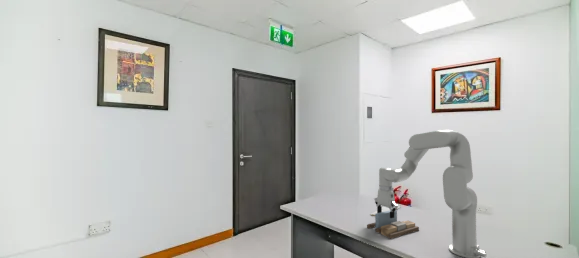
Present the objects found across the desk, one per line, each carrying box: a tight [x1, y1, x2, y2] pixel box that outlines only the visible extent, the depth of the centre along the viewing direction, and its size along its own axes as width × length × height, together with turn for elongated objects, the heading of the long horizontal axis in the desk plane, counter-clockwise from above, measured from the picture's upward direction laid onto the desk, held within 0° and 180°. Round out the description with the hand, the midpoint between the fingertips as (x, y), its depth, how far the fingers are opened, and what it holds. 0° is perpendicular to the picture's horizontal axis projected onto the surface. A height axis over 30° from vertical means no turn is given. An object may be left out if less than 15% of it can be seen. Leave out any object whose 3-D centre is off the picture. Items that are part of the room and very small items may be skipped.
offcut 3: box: [403, 220, 416, 229], centre depth 146 cm, size 5×7×4 cm
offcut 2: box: [391, 220, 406, 232], centre depth 142 cm, size 5×7×5 cm
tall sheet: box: [374, 210, 398, 229], centre depth 150 cm, size 2×16×9 cm, turn 117°
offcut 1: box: [380, 224, 397, 238], centre depth 139 cm, size 5×7×4 cm
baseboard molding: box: [369, 205, 402, 217], centre depth 180 cm, size 31×3×12 cm
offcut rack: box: [366, 220, 420, 240], centre depth 146 cm, size 18×24×2 cm
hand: (385, 215), depth 151 cm, fingers open, 9 cm apart
